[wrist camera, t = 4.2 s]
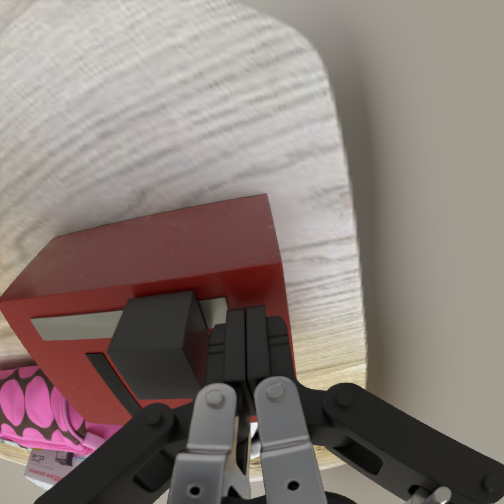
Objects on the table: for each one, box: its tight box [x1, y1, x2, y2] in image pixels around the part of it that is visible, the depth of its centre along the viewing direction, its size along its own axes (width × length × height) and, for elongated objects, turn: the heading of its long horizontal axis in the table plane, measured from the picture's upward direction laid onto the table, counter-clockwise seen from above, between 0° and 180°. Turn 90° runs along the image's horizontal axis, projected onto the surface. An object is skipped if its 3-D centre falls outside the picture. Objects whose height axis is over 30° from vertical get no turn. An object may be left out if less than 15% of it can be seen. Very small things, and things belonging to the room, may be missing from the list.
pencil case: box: [0, 365, 122, 456], centre depth 25 cm, size 21×10×10 cm, turn 112°
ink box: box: [24, 448, 89, 491], centre depth 28 cm, size 9×5×12 cm, turn 102°
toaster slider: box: [106, 291, 209, 400], centre depth 12 cm, size 3×3×3 cm
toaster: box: [0, 194, 297, 426], centre depth 19 cm, size 12×16×8 cm
